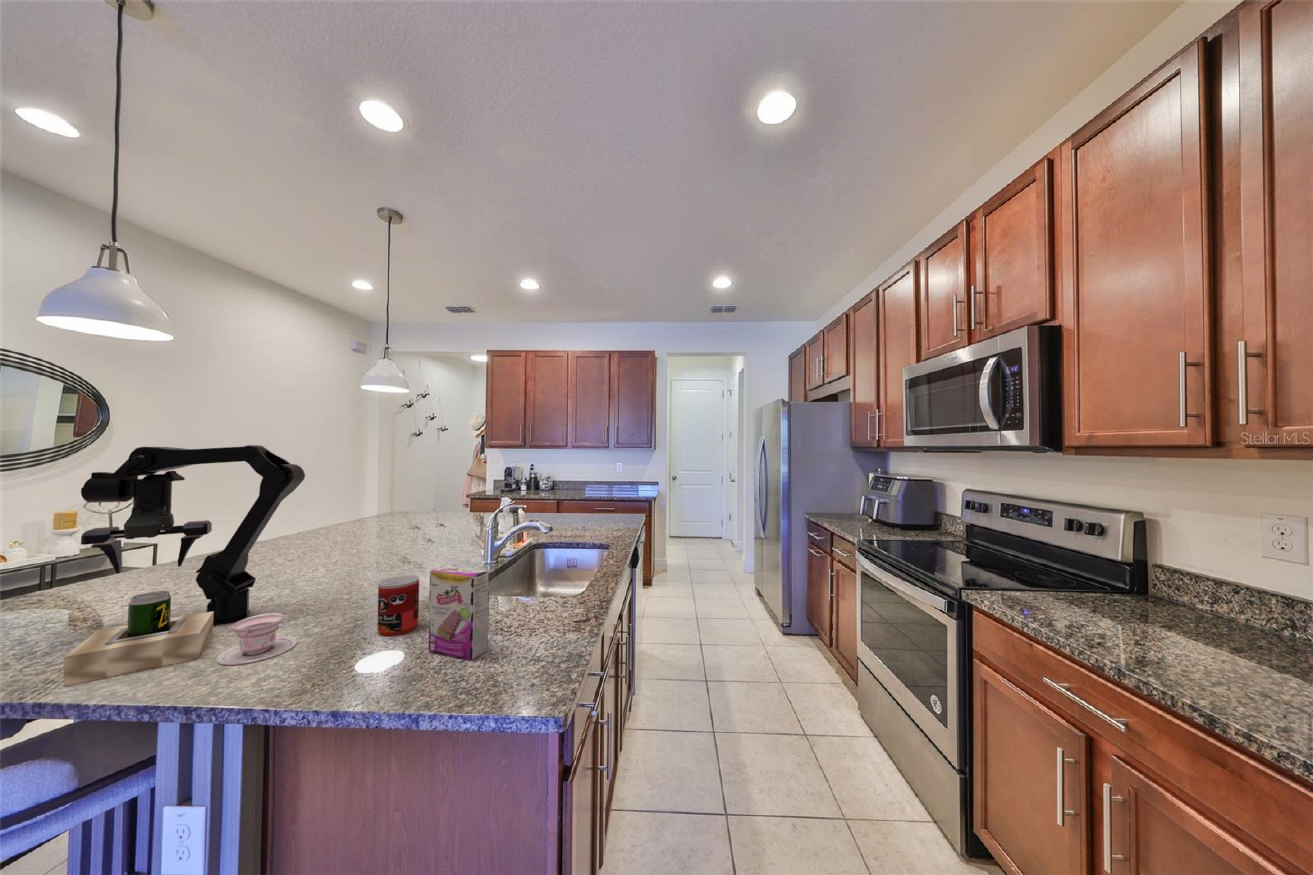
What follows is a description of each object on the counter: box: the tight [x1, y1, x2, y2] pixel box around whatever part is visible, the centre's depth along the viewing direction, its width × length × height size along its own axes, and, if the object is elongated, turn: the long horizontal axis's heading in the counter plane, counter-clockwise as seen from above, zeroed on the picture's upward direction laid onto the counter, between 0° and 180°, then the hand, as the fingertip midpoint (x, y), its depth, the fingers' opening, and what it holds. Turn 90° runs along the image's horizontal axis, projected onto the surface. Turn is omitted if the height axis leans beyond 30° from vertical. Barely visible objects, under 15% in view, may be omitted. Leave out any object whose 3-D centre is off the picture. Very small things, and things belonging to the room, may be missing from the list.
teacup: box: [216, 612, 298, 666], centre depth 87 cm, size 12×12×6 cm
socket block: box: [62, 611, 214, 687], centre depth 84 cm, size 16×14×5 cm
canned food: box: [377, 575, 420, 637], centre depth 97 cm, size 8×8×11 cm
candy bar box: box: [428, 564, 490, 661], centre depth 87 cm, size 11×5×16 cm, turn 71°
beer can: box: [127, 590, 172, 638], centre depth 84 cm, size 5×5×12 cm
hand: (150, 569), depth 98 cm, fingers open, 9 cm apart
